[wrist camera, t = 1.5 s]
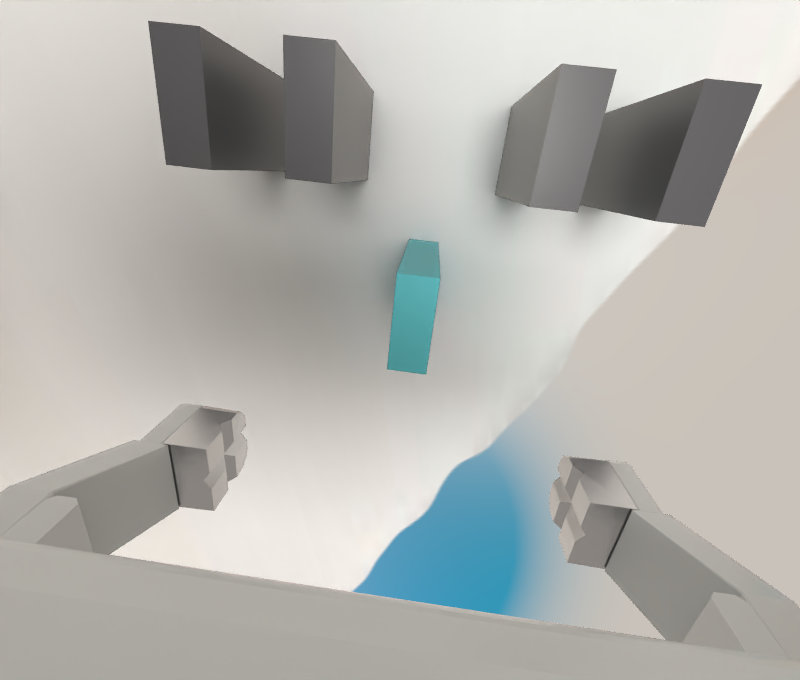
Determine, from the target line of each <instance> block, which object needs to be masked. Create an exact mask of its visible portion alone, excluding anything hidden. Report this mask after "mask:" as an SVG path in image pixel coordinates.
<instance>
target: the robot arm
mask: <svg viewBox="0 0 800 680" xmlns="http://www.w3.org/2000/svg"><path fill="white" fill-rule="evenodd" d="M245 426H246V424H245V415H244V414H243V413H242V412H239V411H233V410H227V409H220V408H214V407H208V406H200V405H193V404H182V405H180V406H179V407H178V408H176V409H175V410H174V411H173V412H172V413H171V414H170V415H169V416H167V417H166V418H165V419H164V420H163V421H162V422H161V423H160V424H158V425H157V426H156V427H155V428H154V429H153V430H152V431H151V432H149V433H148V434H147V435H146V436H145V437H144V438H143V439H142V440H140V441H136V440H133V441H130V442H127V443H125V444H122V445H119V446H117V447H114V448H111V449H109V450H106V451H103V452H100V453H98V454H95V455H92V456H90V457H87V458H84V459H82V460H79V461H76V462H74V463H71V464H68V465H65V466H63V467H60V468H57V469H55V470H52V471H49V472H47V473H44V474H41V475H39V476H36V477H33V478H30V479H28V480H25V481H22V482H20V483H17V484H14V485H12V486H9V487H8V488H6V489H5V490H4V491H2V492H1V493H0V680H800V608H799V607H798V605H797V604H796V603H795V602H794V601H792V600H791V599H789V598H788V597H787V596H785V595H784V594H782V593H781V592H779V591H778V590H777V589H775V588H774V587H772V586H771V585H769V584H768V583H767V582H765V581H764V580H762V579H760V578H759V577H758V576H757V575H755V574H754V573H752V572H751V571H750V570H748V569H747V568H745V567H744V566H742V565H741V564H740V563H738V562H737V561H735V560H734V559H732V558H731V557H729V556H728V555H727V554H725V553H724V552H722V551H721V550H720V549H718V548H717V547H715V546H714V545H712V544H711V543H710V542H708V541H707V540H705V539H704V538H703V537H701V536H699V535H698V534H697V533H695V532H694V531H693V530H691V529H690V528H688V527H687V526H685V525H684V524H683V523H681V522H679V521H678V520H677V519H675V518H674V517H673V516H671V515H668V514H663V513H662V511H661V510H660V508H659V507H658V505H657V504H656V502H655V501H654V499H653V498H652V496H651V495H650V493H649V492H648V490H647V489H646V487H645V486H644V484H643V483H642V481H641V480H640V478H639V477H638V475H637V474H636V472H635V471H634V469H633V468H632V466H631V465H629V464H627V463H626V462H618V461H609V460H605V461H603V460H595V459H587V458H579V457H572V456H563V457H562V458H561V460H560V462H559V465H558V471H559V473H560V476H561V477H559V478H558V479H556V480H555V481H554V482H553V483H552V487H551V491H550V501H549V505H550V512H551V516H552V518H553V521H554V522H555V523H556V524H557V525H558V526H559V527H560V528H561V532H560V535H559V540H560V543H561V546H562V549H563V551H564V555H565V557H566V560H567V562H568V563H574V564H579V565H586V566H591V567H597V568H603V569H605V572H606V573H607V574H608V575H609V576H610V577H611V578H612V579H613V581H614V582H615V583H616V584H617V585H618V586H619V587H620V588H621V590H622V591H623V592H624V593H625V594H626V595H627V596H628V598H629V599H630V600H631V601H632V602H633V603H634V604H635V605H636V607H637V608H638V609H639V610H640V611H641V612H642V613H643V614H644V616H646V618H647V619H648V620H649V621H650V622H651V623H652V624H653V626H654V627H655V628H656V629H657V630H658V631H659V632H660V634H661V635H662V636H663V637H664V638H665V639H666V640H662V639H656V638H649V637H643V636H636V635H629V634H623V633H616V632H610V631H603V630H596V629H590V628H584V627H577V626H570V625H564V624H557V623H550V622H544V621H538V620H531V619H525V618H518V617H512V616H505V615H499V614H492V613H485V612H479V611H473V610H466V609H459V608H454V607H447V606H440V605H434V604H428V603H421V602H414V601H408V600H401V599H395V598H388V597H382V596H375V595H369V594H362V593H356V592H349V591H342V590H336V589H329V588H323V587H316V586H310V585H303V584H297V583H290V582H284V581H277V580H271V579H264V578H257V577H251V576H244V575H238V574H231V573H225V572H218V571H212V570H205V569H199V568H192V567H186V566H179V565H172V564H166V563H159V562H153V561H146V560H140V559H133V558H127V557H120V556H114V555H109V554H111V553H112V552H114V551H115V550H117V549H118V548H120V547H121V546H123V545H124V544H126V543H127V542H129V541H130V540H132V539H133V538H135V537H137V536H138V535H140V534H141V533H143V532H144V531H146V530H147V529H149V528H150V527H152V526H153V525H155V524H156V523H158V522H159V521H161V520H162V519H164V518H165V517H167V516H168V515H170V514H171V513H173V512H174V511H176V510H177V509H179V507H186V508H195V509H204V510H212V511H214V510H215V509H216V507H217V506H218V504H219V503H220V501H221V500H222V498H223V497H224V495H225V494H226V492H227V491H228V483H227V482H228V481H230V480H232V479H233V478H235V477H237V476H238V474H239V472H240V471H241V469H242V468H243V465H244V462H245V459H246V454H247V440H246V438H245V437H244V436H243V435H242V433H241V431H242V430H243V429H244V427H245Z"/></svg>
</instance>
